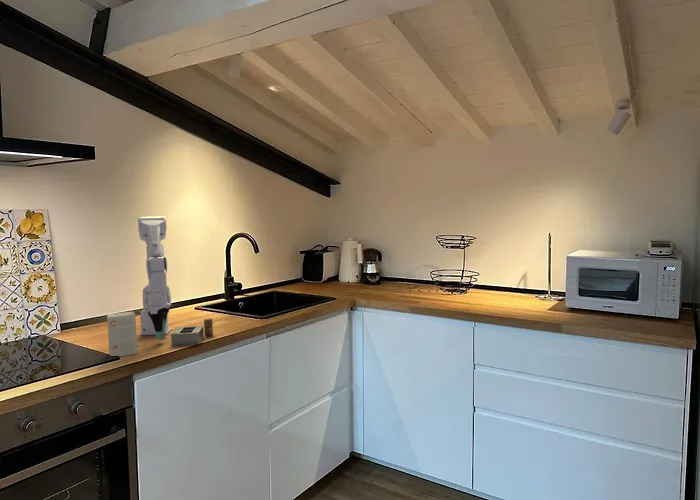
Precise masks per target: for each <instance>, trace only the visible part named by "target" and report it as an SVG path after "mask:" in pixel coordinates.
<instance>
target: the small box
mask: <svg viewBox="0 0 700 500" xmlns="http://www.w3.org/2000/svg"><path fill="white" fill-rule="evenodd" d="M106 318H107V319H106V324H107V334H108V335H107V337H108V348H109V351H108V352H109V356H120V357H125V356H131V355H137V354H138V352H139V351H138V339H137V338H138V335H137V324H136V323H137V322H136V314H135V313H134V311H126V312H117V313H108V314H106Z"/></svg>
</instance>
